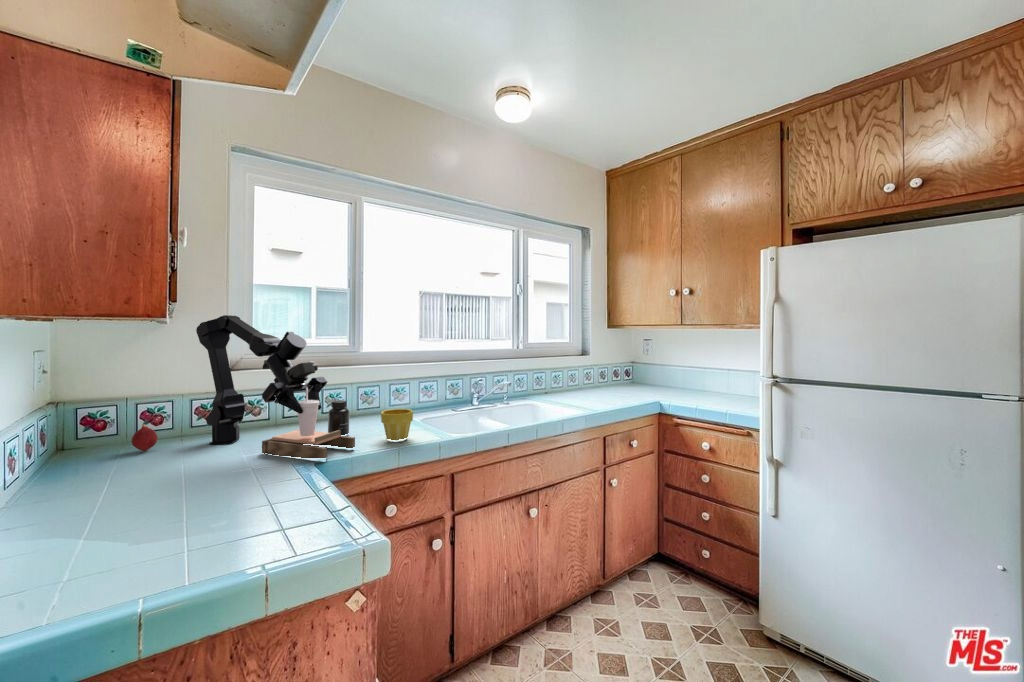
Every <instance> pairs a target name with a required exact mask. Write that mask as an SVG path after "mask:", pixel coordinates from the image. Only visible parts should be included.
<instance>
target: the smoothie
mask: <svg viewBox="0 0 1024 682" xmlns="http://www.w3.org/2000/svg"><path fill="white" fill-rule="evenodd" d="M305 396H306V399H304V400H297V401H298V403H299V404H300V406H301V408H302V410H303V412H302V414H300V413H298V412H297V420H298V426H299V428H298V429H299V430H300V435H301V436H311V435H314V433H315V431H316V427H317V426H316V425H317V418H318V411H319V410H318V405H320V404H319V402H320V403H321V400H320V401H318V400H308V387H306V393H305Z"/></svg>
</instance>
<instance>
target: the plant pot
mask: <svg viewBox="0 0 1024 682" xmlns="http://www.w3.org/2000/svg"><path fill="white" fill-rule="evenodd" d="M413 418H414V412H413V410H412V409H408V408H393V409H392V408H391V409H386V410H383V411H381V412H380V419H381V420H380V422H381V423H382V425H383V427H384V432H385V436H386V437H385V438H386V440H387V439H391V440H399V439H404V438H407V437H409V434H410V428H411V423H412V421H414V419H413Z"/></svg>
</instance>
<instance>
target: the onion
mask: <svg viewBox="0 0 1024 682" xmlns="http://www.w3.org/2000/svg"><path fill="white" fill-rule="evenodd" d="M158 439H159V438H158V434H157V432H156V431H155V429H152V428H150V427H148V426H147V425H146V424H142V426H141V428H139V429H138V430H137V431H136V432H134V434H133V435H132V436H131V444H132V446H133V447H134V448H136V449H137V450H138V451H141V452H144V453H146V452H147V451H149V450H150V449H152V448H153V447H154V446H155V445H156V444H157V442H158Z"/></svg>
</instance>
